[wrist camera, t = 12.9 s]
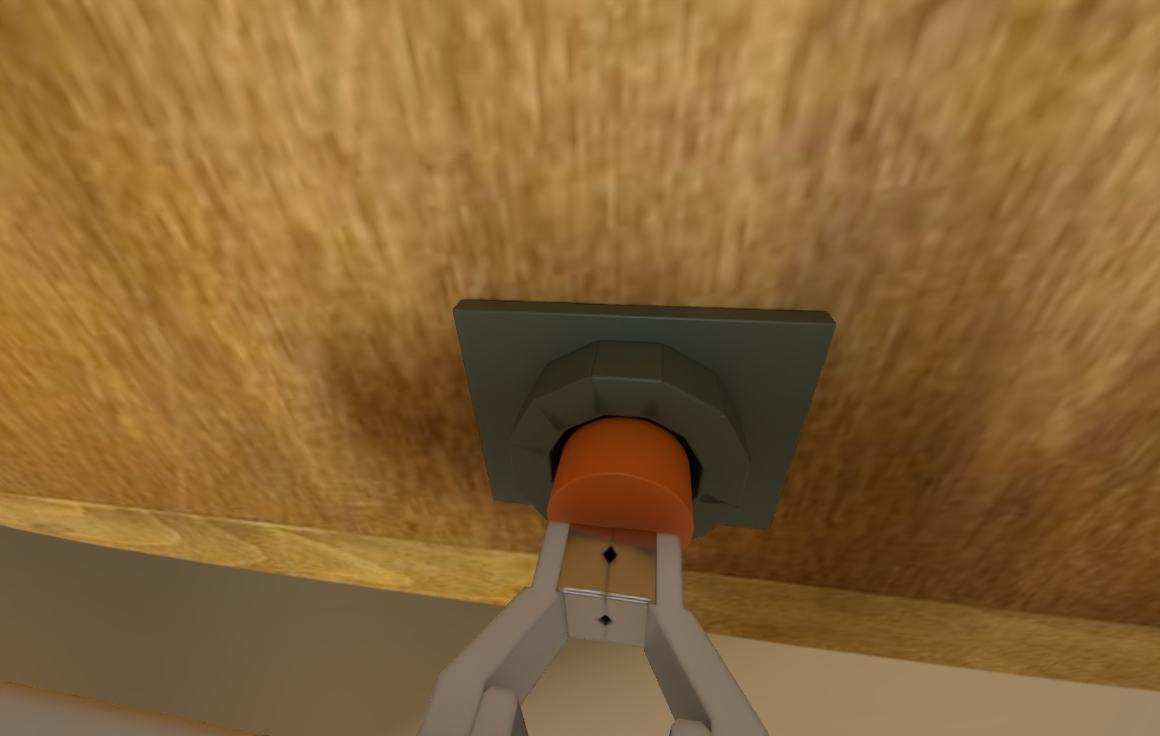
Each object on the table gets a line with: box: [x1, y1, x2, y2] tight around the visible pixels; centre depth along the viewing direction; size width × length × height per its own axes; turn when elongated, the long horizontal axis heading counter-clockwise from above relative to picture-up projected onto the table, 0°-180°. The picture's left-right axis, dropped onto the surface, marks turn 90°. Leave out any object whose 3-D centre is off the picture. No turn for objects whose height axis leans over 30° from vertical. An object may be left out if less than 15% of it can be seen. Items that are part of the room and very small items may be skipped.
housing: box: [453, 300, 836, 539], centre depth 13 cm, size 10×8×2 cm
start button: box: [547, 417, 694, 553], centre depth 11 cm, size 4×4×2 cm
